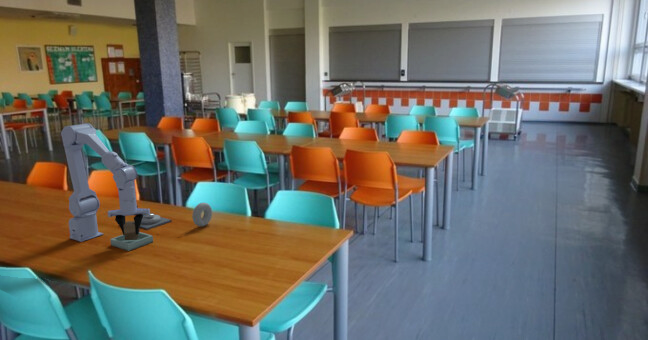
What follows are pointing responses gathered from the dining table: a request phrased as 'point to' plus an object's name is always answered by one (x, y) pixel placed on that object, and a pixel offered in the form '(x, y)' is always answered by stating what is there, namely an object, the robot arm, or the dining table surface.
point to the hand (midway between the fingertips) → (131, 233)
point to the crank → (149, 215)
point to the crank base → (163, 221)
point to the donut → (197, 214)
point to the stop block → (130, 231)
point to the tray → (131, 241)
